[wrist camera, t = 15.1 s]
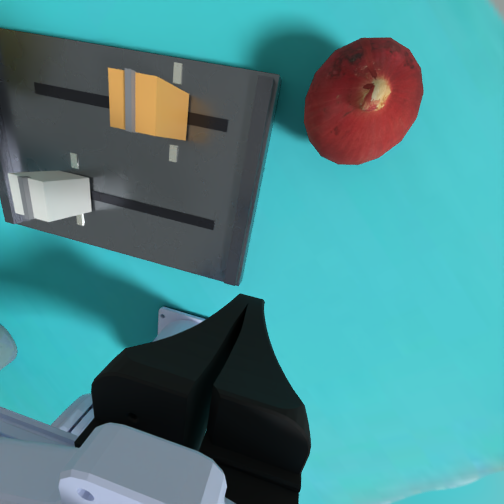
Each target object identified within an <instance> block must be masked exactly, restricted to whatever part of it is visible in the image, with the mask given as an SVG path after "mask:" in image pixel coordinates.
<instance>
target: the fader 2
mask: <svg viewBox="0 0 504 504" xmlns="http://www.w3.org/2000/svg"><path fill="white" fill-rule="evenodd" d="M108 80H109V107H110V127H115V128H119V129H124V130H125V131H128V132H134V133H143V134H148V135H153V136H158V137H165V138H172V139H178V140H185V141H186V131H187V118H188V104H189V94H188V93H186V92H185V91H183V90H181V89H179V88H177V87H176V86H174V85H172V84H170V83H168V82H166V81H165V80H163V79H161V78H159V77H157V76H153V75H147V74H141V73H138V72H136V71H134V70H132V69H127V68H125V70H119V69H113V68H108Z"/></svg>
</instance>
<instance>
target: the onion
mask: <svg viewBox="0 0 504 504" xmlns="http://www.w3.org/2000/svg"><path fill="white" fill-rule="evenodd" d="M422 96H423V83H422V74H421V68H420V66H419V64H418V63H417V61H416V59H415V58H414V56H413V55H412V53H411V51H410V50H409V49H408V48H406V47H405V46H403V45H401V44H400V43H398V42H397V41H395V40H393V39H392V38H361V39H358V40H356V41H354V42H352V43H350V44H348V45H346V46H344V47H342V48H340V49H337V50H335V51H334V52H333V54H332V55H331V56H330V57H329V58H328V59H327V60H326V62H325V63H324V64H323V65H322V66H321V67H320V68H319V70H318V71H317V72H316V73H315V75H314V78H313V80H312V83H311V85H310V88H309V90H308V93H307V95H306V98H305V113H304V124H305V128H306V131H307V134H308V137H309V141H310V142H311V144H312V145H313V146H314V147H315V149H316V150H317V151H318V153H319V154H320V155H321V156H322V157H324V158H326V159H328V160H330V161H332V162H335V163H337V164H346V165H359V164H362V163H365V162H368V161H371V160H373V159H376V158H379V157H380V156H382V155H383V154H384V153H386V152H387V151H388V150H390V149H391V148H392V147H394V146H395V145H396V144H398V143H399V142H400V141H402V139H403V138H404V136H405V135H406V133H407V132H408V130H409V129H410V127H411V126H412V124H413V123H414V121H415V120H416V118H417V115H418V111H419V107H420V103H421V100H422Z"/></svg>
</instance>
